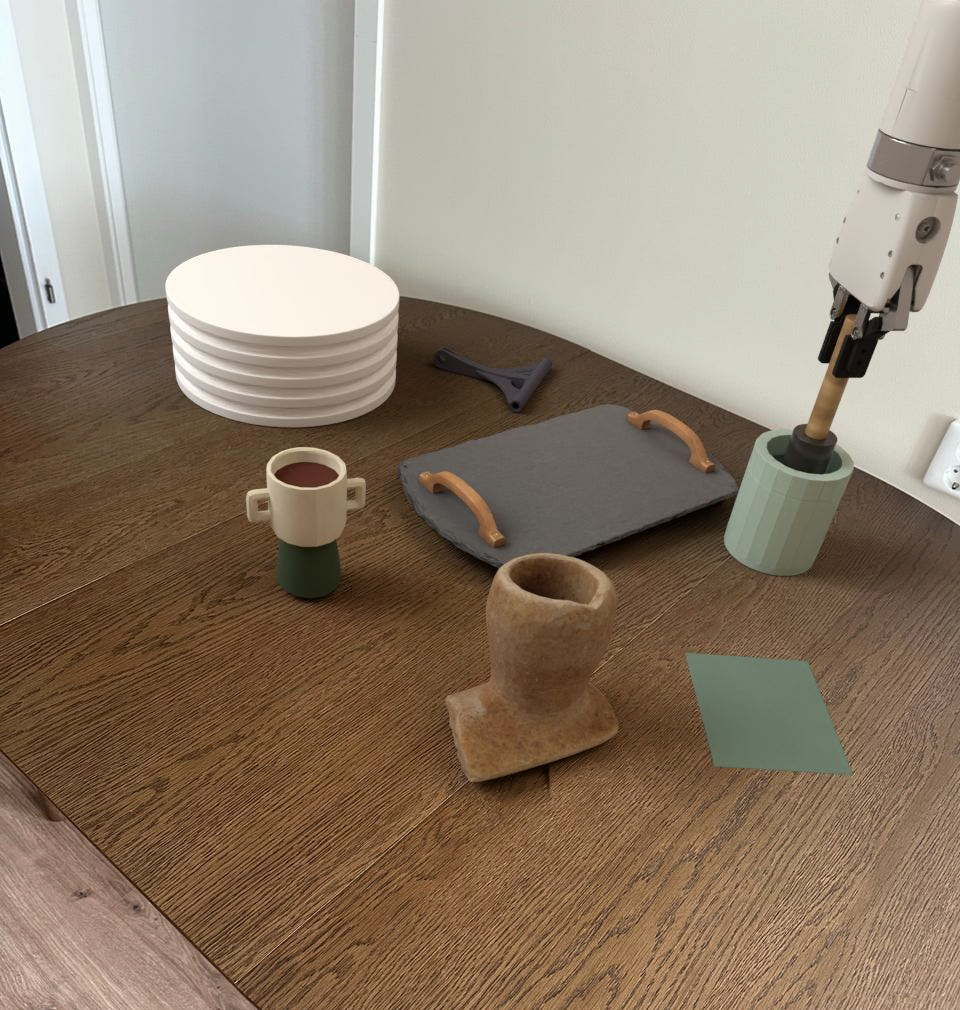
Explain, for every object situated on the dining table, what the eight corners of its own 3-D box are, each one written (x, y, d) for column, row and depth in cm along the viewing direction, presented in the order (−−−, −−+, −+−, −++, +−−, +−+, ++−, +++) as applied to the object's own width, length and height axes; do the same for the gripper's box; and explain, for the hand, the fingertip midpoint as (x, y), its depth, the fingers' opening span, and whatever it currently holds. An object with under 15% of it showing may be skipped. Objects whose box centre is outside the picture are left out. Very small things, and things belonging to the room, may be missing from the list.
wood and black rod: (783, 453, 99) (835, 305, 89) (825, 464, 99) (883, 315, 88) (779, 473, 96) (832, 322, 86) (823, 484, 95) (882, 332, 85)
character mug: (353, 553, 96) (355, 440, 87) (373, 596, 91) (377, 482, 82) (245, 568, 92) (236, 452, 83) (260, 614, 87) (252, 497, 79)
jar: (800, 525, 108) (837, 433, 100) (824, 579, 101) (867, 484, 93) (715, 519, 108) (746, 425, 100) (734, 572, 100) (768, 476, 92)
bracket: (452, 345, 134) (453, 326, 133) (551, 370, 132) (554, 351, 130) (414, 387, 124) (415, 367, 122) (520, 414, 121) (523, 395, 119)
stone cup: (564, 659, 87) (593, 525, 77) (631, 750, 79) (674, 615, 69) (412, 697, 81) (423, 559, 71) (469, 800, 74) (490, 660, 64)
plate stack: (314, 312, 138) (313, 231, 130) (438, 391, 124) (445, 305, 116) (135, 355, 122) (122, 267, 115) (254, 451, 108) (248, 357, 100)
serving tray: (492, 606, 92) (500, 555, 88) (369, 489, 105) (370, 440, 101) (754, 504, 111) (770, 458, 107) (622, 415, 124) (632, 371, 120)
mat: (806, 665, 90) (808, 660, 90) (850, 779, 80) (853, 774, 79) (683, 657, 89) (685, 652, 89) (712, 770, 79) (714, 766, 78)
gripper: (1013, 194, 73) (918, 409, 85) (907, 137, 84) (836, 333, 97) (927, 190, 71) (843, 410, 84) (831, 132, 83) (769, 333, 95)
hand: (840, 367), depth 90 cm, fingers closed on wood and black rod, 2 cm apart
